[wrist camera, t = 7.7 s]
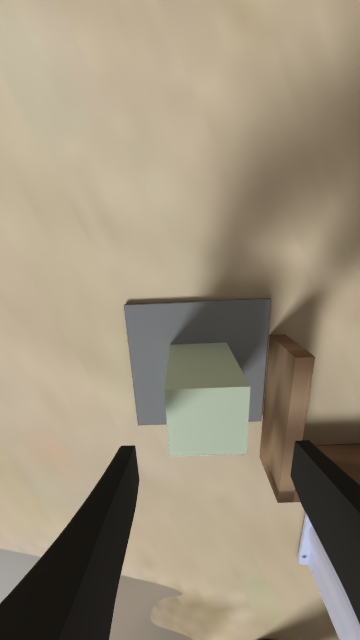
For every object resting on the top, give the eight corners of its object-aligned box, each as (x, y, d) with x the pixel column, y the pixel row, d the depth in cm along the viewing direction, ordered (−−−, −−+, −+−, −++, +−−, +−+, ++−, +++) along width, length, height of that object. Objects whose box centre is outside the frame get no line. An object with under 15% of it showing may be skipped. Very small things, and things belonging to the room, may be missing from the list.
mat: (259, 417, 19) (261, 421, 19) (138, 422, 20) (138, 425, 19) (268, 298, 16) (271, 299, 16) (125, 304, 16) (123, 305, 16)
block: (225, 391, 18) (246, 453, 12) (172, 393, 18) (169, 456, 12) (226, 342, 17) (250, 386, 11) (169, 344, 17) (164, 389, 11)
